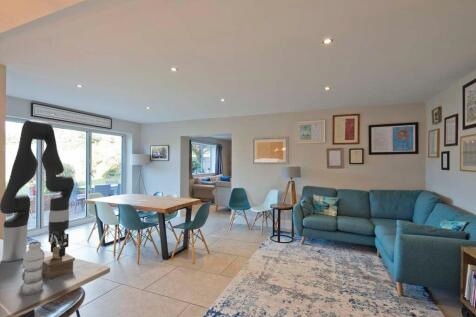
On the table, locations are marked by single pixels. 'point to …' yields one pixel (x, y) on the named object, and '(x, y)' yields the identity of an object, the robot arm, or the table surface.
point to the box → (57, 270)
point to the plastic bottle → (33, 269)
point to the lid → (57, 259)
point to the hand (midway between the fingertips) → (57, 254)
